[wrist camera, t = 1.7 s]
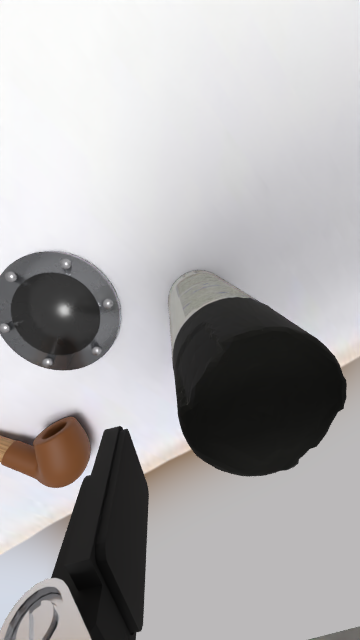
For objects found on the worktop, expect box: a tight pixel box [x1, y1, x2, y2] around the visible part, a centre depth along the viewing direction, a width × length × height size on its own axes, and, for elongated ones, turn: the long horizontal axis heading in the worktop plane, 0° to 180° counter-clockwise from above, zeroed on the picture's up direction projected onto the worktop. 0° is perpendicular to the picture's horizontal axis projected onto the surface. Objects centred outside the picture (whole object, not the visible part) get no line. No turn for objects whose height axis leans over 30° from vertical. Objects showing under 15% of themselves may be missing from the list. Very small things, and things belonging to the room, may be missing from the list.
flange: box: [0, 251, 121, 370], centre depth 27 cm, size 13×13×1 cm
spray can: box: [168, 270, 346, 476], centre depth 19 cm, size 7×7×20 cm
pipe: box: [0, 417, 91, 488], centre depth 30 cm, size 8×19×6 cm, turn 101°
